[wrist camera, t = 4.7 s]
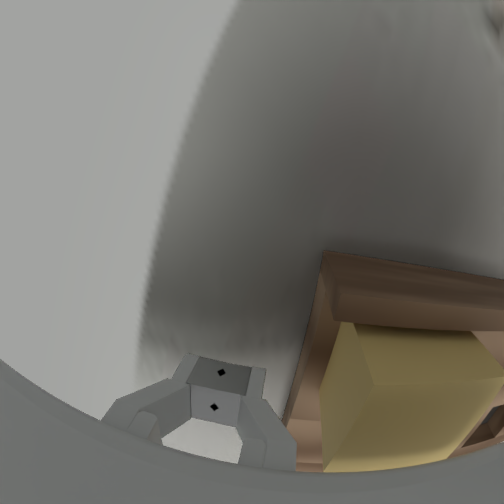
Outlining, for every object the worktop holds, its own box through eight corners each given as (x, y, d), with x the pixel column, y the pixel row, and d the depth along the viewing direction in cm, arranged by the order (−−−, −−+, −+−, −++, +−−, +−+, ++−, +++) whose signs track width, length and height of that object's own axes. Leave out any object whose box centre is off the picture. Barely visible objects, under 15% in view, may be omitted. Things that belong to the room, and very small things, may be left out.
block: (346, 304, 11) (374, 385, 6) (455, 315, 10) (508, 375, 6) (318, 390, 12) (323, 472, 8) (418, 392, 12) (446, 458, 7)
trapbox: (323, 250, 13) (343, 300, 8) (573, 292, 11) (606, 317, 5) (274, 444, 18) (266, 502, 12) (504, 422, 15) (522, 455, 10)
